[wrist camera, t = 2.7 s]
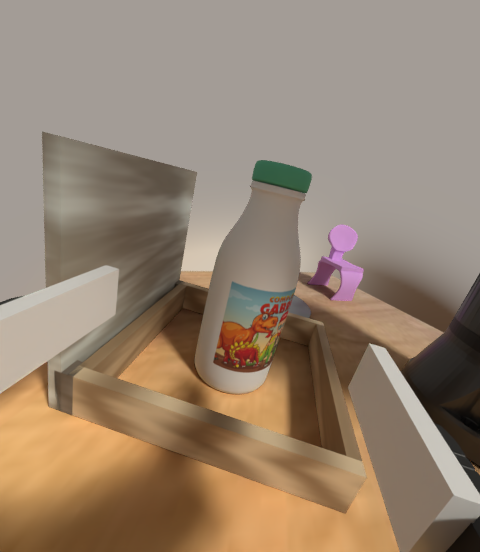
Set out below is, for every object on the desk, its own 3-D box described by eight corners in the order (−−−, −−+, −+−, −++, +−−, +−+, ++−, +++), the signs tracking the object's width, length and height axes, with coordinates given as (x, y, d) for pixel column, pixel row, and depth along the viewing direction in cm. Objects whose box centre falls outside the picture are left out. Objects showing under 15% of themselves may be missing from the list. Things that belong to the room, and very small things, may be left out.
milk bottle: (178, 375, 24) (222, 146, 18) (212, 337, 31) (252, 163, 25) (254, 411, 22) (335, 170, 16) (272, 361, 29) (332, 181, 23)
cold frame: (314, 344, 35) (365, 214, 29) (345, 513, 16) (505, 246, 11) (169, 300, 37) (189, 170, 31) (48, 406, 18) (42, 131, 12)
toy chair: (328, 301, 53) (356, 230, 48) (303, 283, 60) (325, 220, 55) (356, 302, 56) (385, 236, 51) (329, 285, 64) (352, 226, 59)
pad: (306, 299, 50) (307, 296, 50) (313, 336, 37) (314, 331, 37) (238, 280, 52) (239, 276, 51) (221, 309, 38) (222, 304, 38)
